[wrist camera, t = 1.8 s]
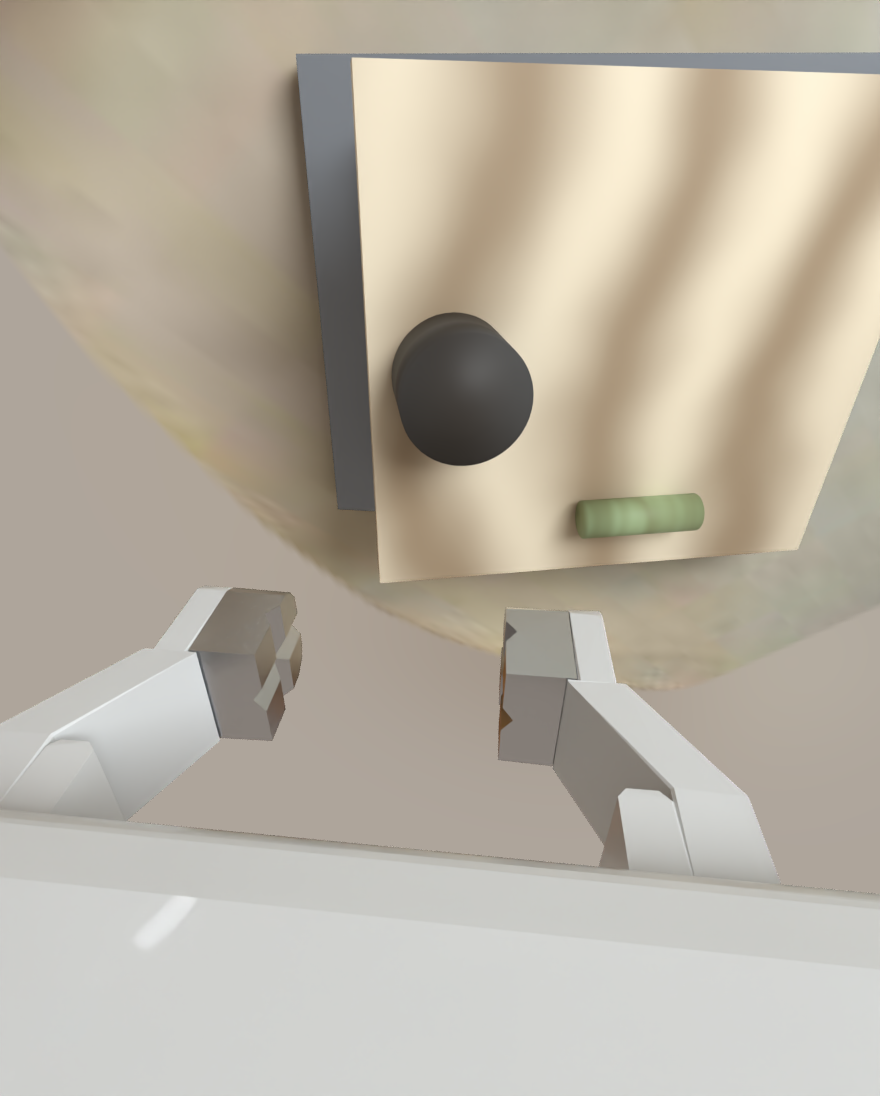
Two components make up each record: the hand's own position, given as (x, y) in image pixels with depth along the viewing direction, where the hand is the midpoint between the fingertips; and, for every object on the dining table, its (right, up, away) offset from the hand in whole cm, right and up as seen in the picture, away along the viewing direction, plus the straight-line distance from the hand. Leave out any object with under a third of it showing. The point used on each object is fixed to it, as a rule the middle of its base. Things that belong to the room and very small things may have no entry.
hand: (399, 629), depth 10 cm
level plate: (+8, +9, +14) cm, 18 cm away
